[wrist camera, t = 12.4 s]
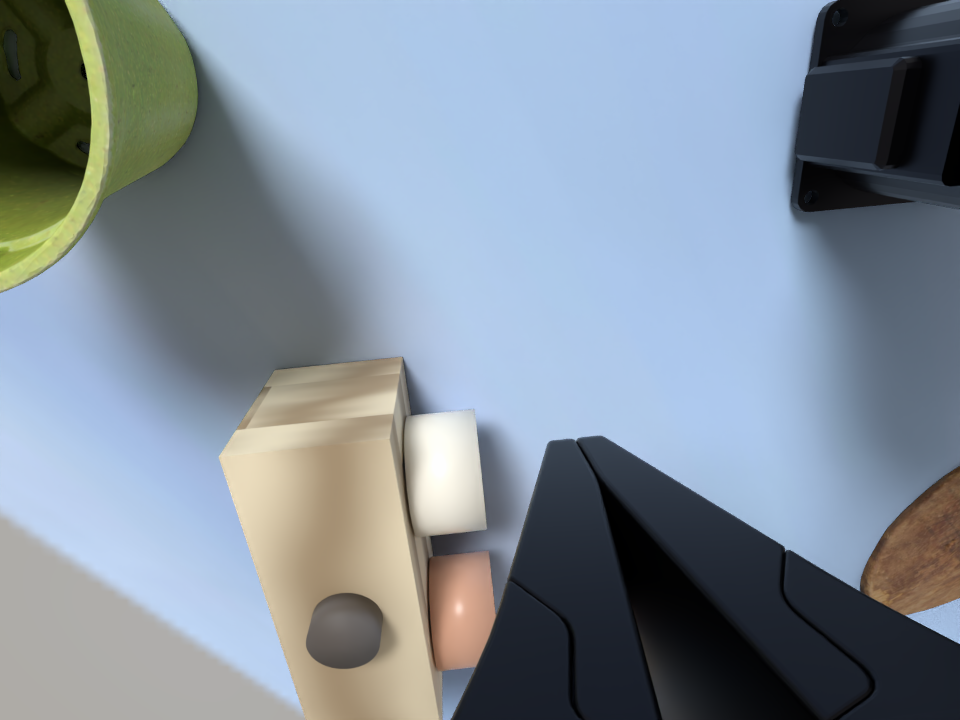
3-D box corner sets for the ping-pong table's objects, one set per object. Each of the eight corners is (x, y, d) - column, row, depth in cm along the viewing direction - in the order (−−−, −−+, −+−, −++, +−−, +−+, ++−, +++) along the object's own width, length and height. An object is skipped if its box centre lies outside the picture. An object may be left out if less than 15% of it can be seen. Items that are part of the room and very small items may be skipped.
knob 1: (472, 388, 22) (479, 451, 18) (481, 480, 23) (489, 556, 19) (291, 407, 22) (256, 475, 17) (314, 498, 23) (288, 579, 19)
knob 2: (486, 528, 25) (495, 610, 21) (493, 601, 26) (503, 689, 22) (326, 546, 24) (304, 631, 20) (345, 618, 26) (327, 709, 22)
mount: (402, 356, 22) (386, 457, 15) (442, 613, 28) (442, 764, 21) (274, 369, 22) (205, 477, 15) (341, 624, 27) (311, 779, 21)
